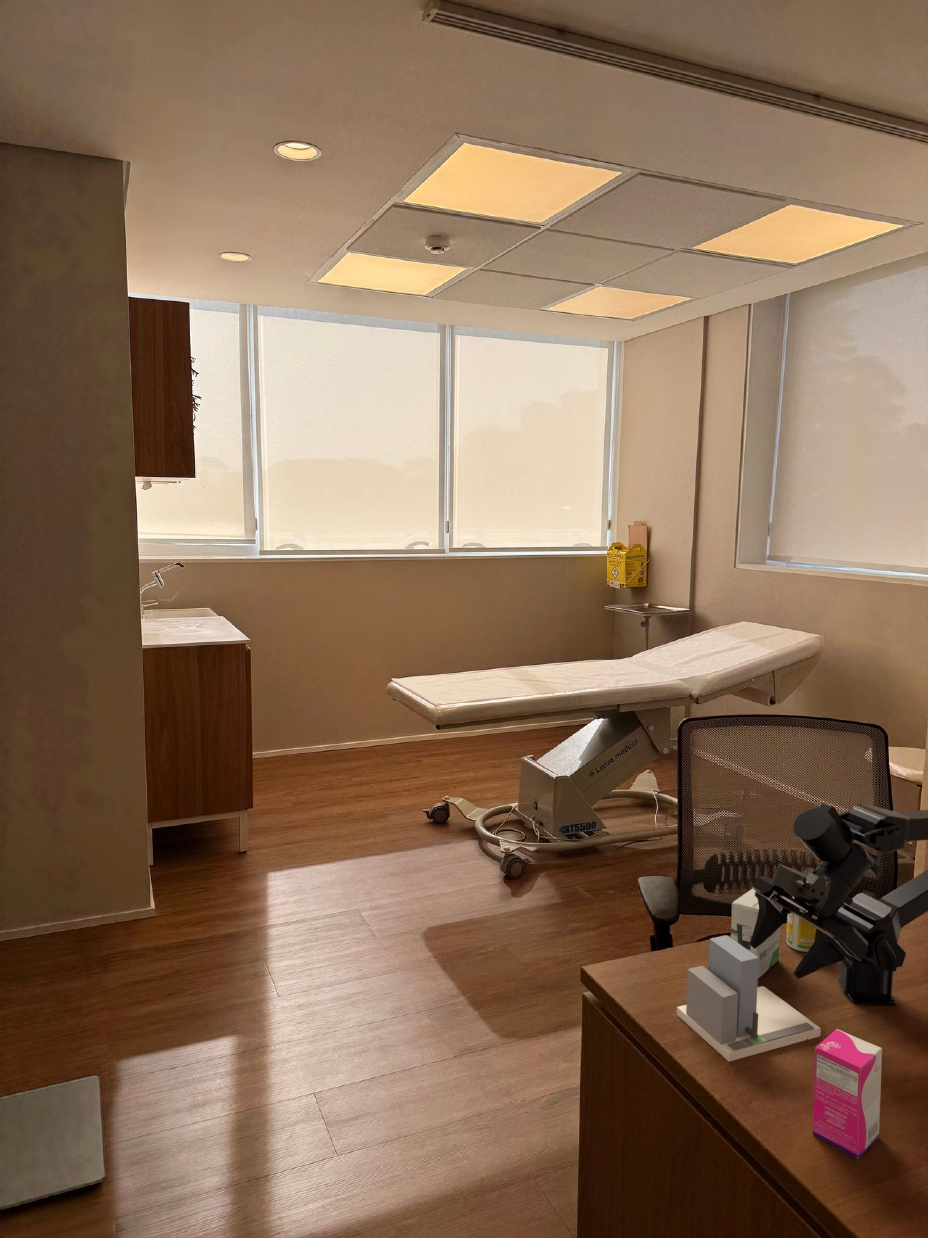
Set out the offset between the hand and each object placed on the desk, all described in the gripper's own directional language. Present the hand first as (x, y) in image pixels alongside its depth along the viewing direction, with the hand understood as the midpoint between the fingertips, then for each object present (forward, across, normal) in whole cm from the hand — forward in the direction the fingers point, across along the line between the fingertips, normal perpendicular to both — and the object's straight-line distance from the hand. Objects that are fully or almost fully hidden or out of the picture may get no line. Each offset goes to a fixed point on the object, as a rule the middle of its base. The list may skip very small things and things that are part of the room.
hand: (773, 961), depth 127 cm
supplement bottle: (-8, -16, +21) cm, 27 cm away
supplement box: (+12, +23, +1) cm, 26 cm away
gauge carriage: (+11, +1, 0) cm, 11 cm away
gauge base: (+9, 0, +3) cm, 10 cm away
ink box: (+1, -13, +12) cm, 18 cm away
